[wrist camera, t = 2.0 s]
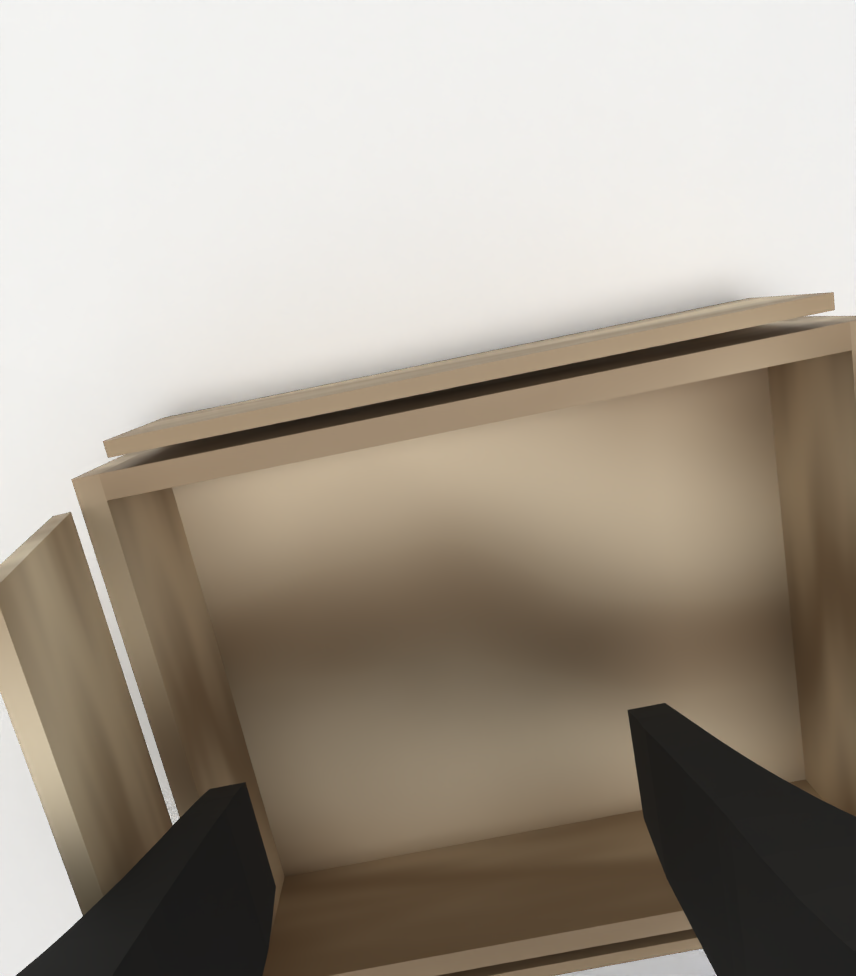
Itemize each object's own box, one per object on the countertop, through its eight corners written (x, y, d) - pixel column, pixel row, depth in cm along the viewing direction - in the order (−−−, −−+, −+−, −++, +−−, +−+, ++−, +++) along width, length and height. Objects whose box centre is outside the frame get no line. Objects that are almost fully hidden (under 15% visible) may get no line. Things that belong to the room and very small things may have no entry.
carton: (822, 803, 19) (912, 910, 15) (273, 905, 19) (243, 1032, 16) (777, 291, 16) (876, 283, 12) (131, 423, 16) (56, 450, 13)
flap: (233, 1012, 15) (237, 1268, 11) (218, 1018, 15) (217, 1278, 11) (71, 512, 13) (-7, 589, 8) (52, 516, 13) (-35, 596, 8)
